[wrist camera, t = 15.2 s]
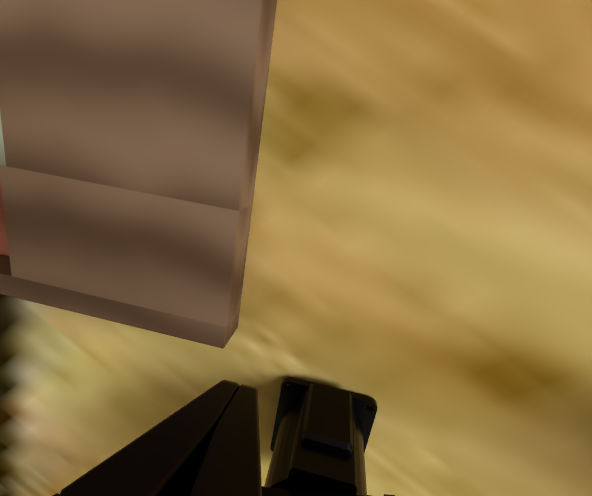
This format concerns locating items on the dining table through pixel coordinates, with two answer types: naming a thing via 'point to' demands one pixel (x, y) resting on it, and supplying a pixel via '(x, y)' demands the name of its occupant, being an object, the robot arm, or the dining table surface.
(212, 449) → the robot arm
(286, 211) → the dining table surface
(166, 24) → the board
